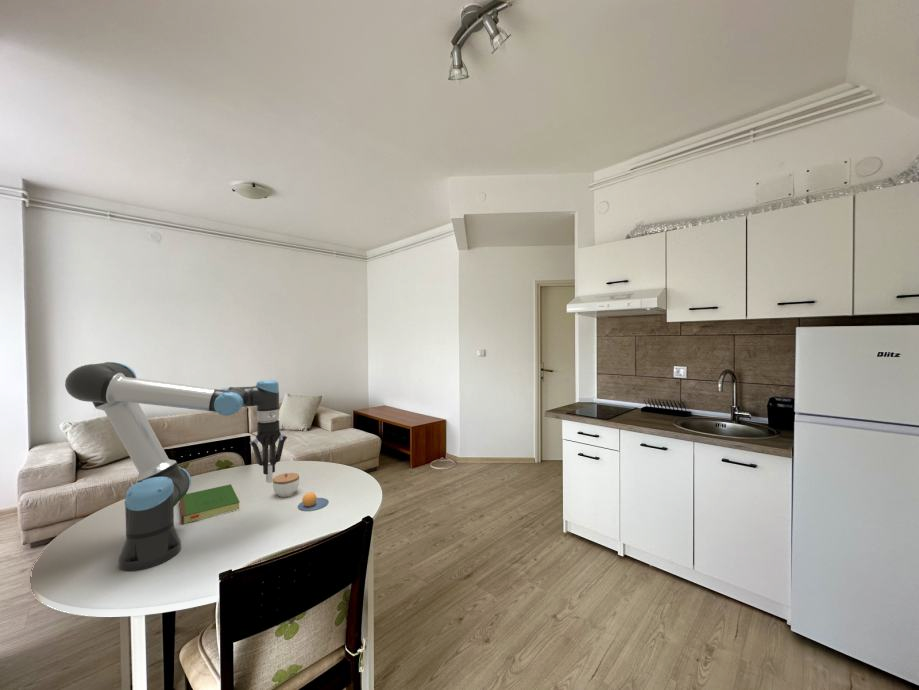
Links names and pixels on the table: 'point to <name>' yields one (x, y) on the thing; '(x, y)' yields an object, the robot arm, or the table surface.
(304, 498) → the ball
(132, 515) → the robot arm
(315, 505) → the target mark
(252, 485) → the table surface
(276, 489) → the lidded jar
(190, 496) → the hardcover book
